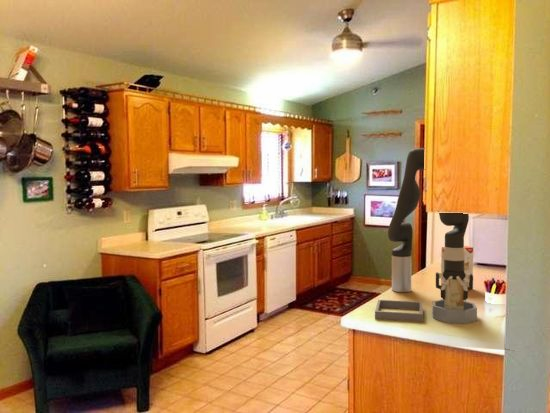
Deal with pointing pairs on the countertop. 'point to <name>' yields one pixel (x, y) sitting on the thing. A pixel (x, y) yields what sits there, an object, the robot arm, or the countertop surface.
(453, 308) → the skincare box
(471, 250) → the cracker box
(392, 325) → the countertop surface
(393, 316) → the parts tray
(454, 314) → the ceramic bowl
